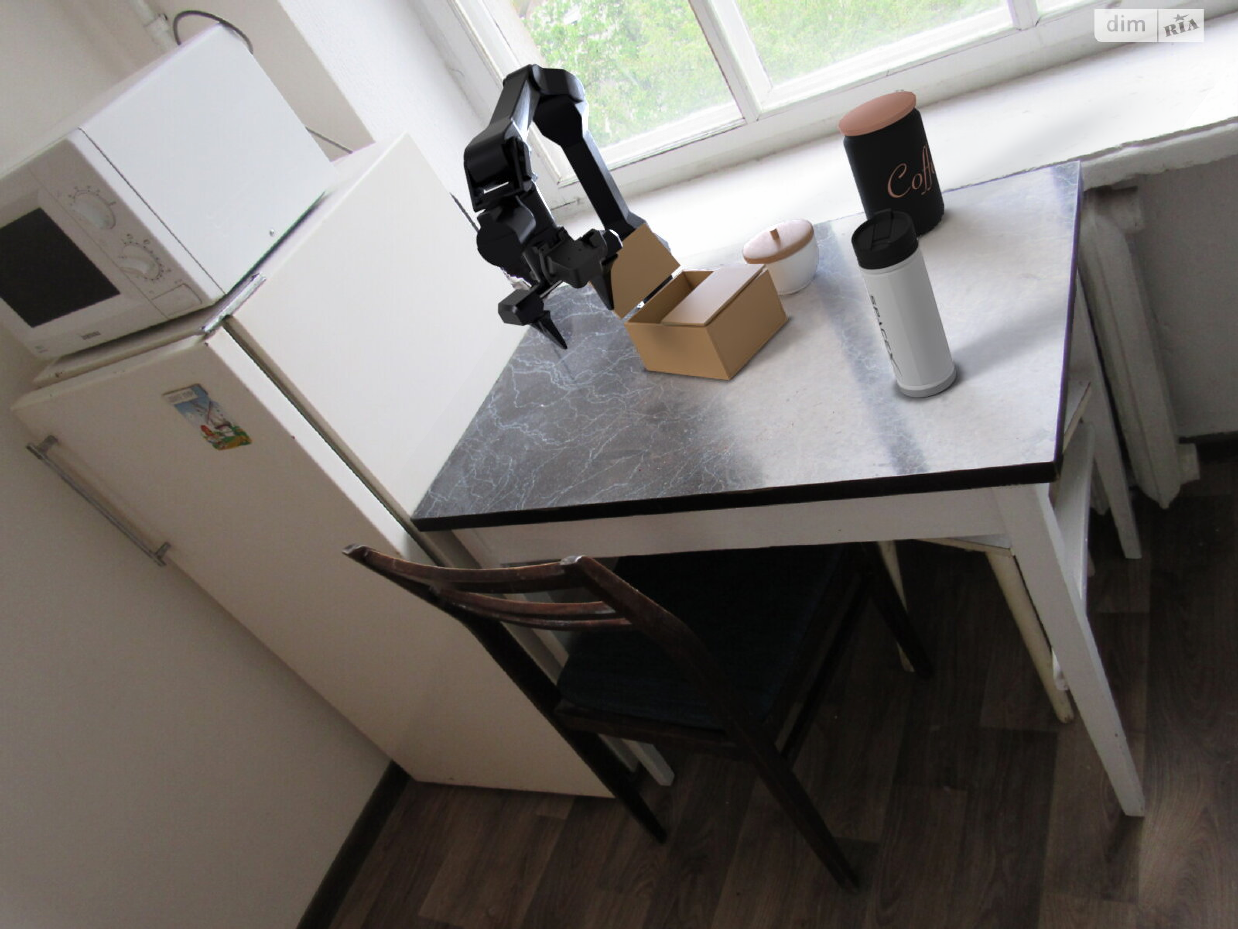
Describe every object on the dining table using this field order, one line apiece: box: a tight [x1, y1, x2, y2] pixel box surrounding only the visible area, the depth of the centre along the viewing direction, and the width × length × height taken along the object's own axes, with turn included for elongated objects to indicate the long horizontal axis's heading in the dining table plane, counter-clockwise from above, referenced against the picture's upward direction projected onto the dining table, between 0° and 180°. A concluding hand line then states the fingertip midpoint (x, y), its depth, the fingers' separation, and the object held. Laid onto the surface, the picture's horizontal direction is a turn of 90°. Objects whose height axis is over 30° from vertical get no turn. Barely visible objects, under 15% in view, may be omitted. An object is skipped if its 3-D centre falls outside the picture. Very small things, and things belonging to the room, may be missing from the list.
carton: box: [623, 263, 789, 381], centre depth 124 cm, size 17×14×9 cm
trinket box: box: [741, 218, 820, 296], centre depth 128 cm, size 11×11×9 cm
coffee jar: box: [837, 90, 946, 238], centre depth 124 cm, size 11×11×18 cm
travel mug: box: [850, 208, 957, 398], centre depth 93 cm, size 6×7×20 cm
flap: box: [587, 223, 681, 321], centre depth 128 cm, size 8×14×1 cm
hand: (588, 329), depth 120 cm, fingers open, 9 cm apart
